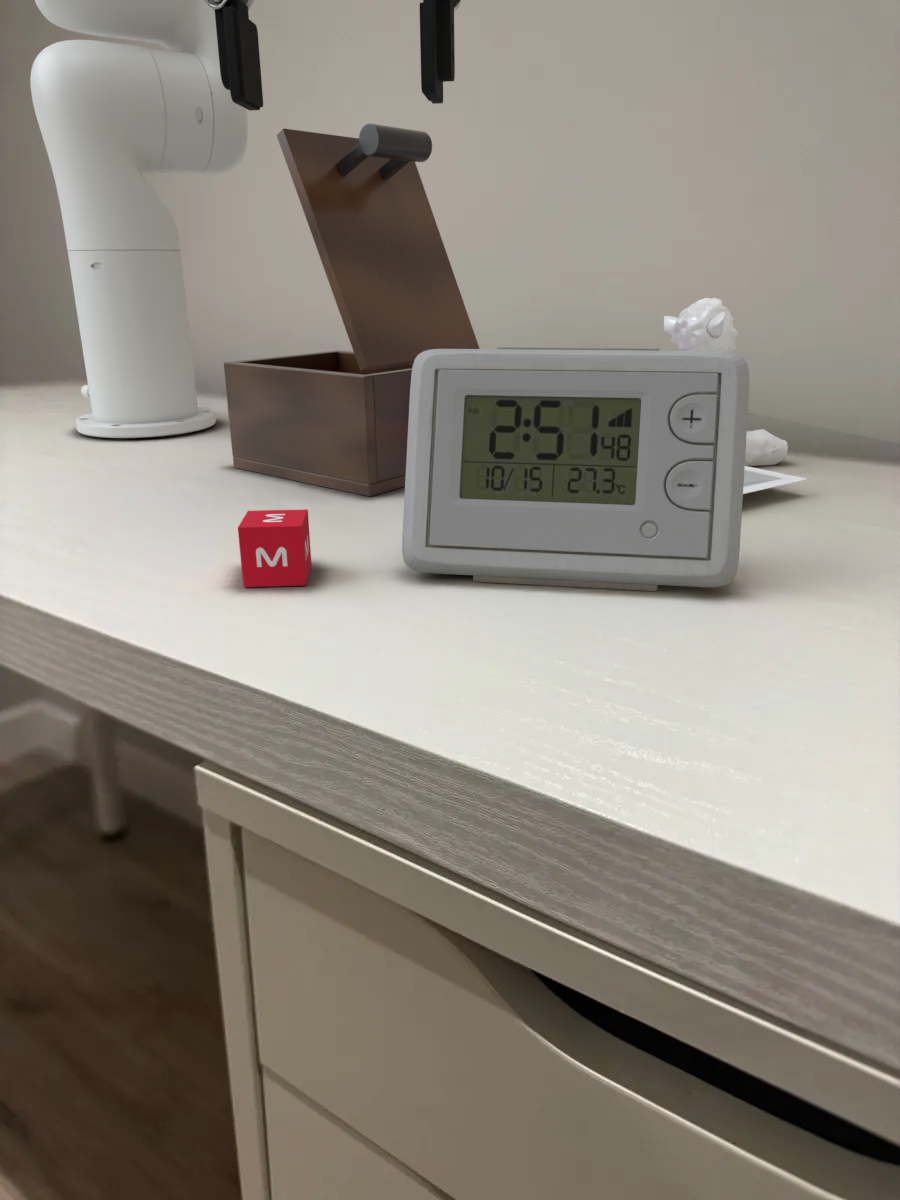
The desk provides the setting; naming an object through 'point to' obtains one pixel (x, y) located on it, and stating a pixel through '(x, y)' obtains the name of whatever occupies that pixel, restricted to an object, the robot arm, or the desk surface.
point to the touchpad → (765, 479)
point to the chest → (320, 420)
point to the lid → (379, 242)
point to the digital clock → (576, 466)
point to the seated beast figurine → (714, 331)
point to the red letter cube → (275, 548)
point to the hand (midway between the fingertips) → (339, 102)
